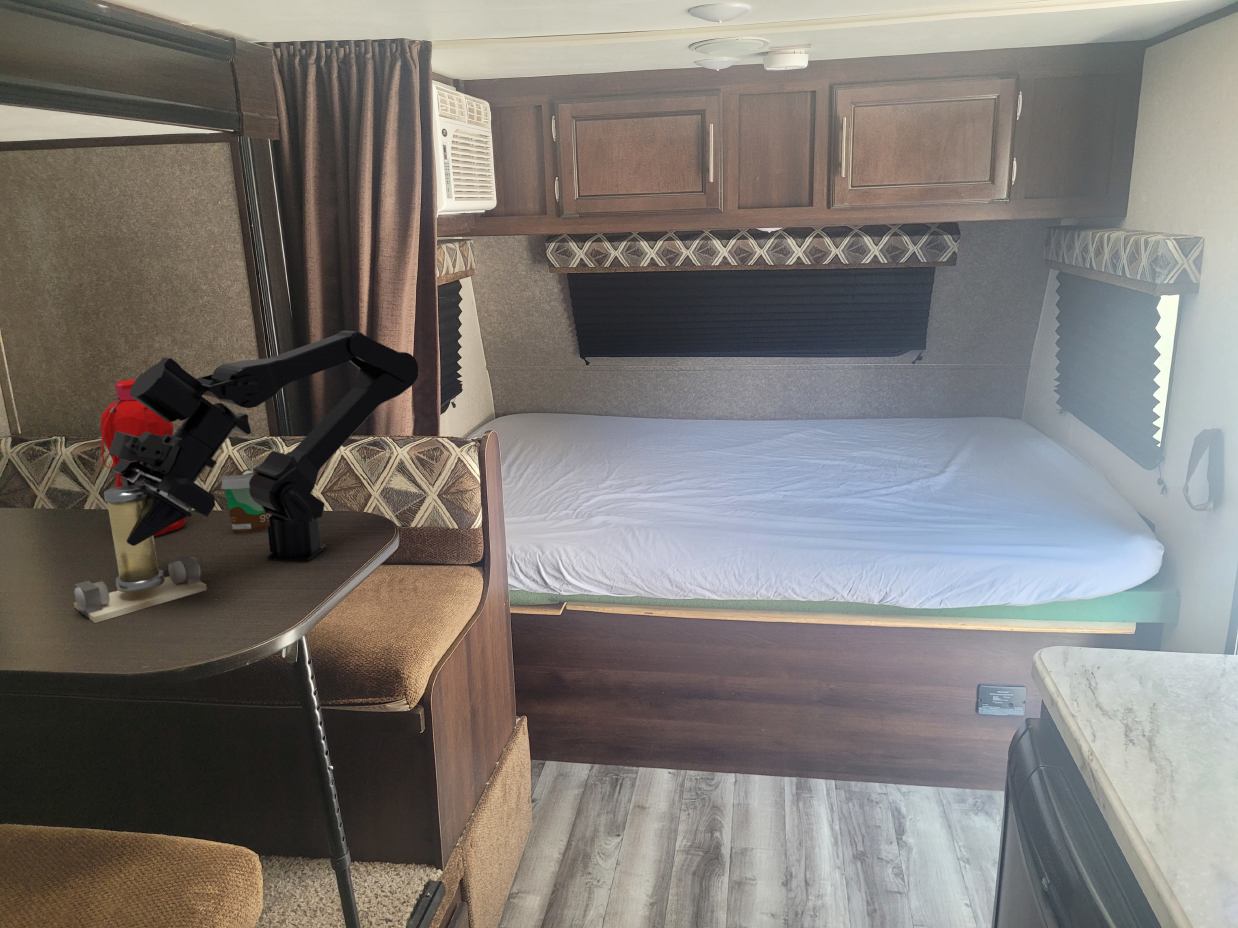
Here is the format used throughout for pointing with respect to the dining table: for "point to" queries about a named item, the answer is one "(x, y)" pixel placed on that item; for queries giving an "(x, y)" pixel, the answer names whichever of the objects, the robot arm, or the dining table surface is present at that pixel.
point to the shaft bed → (107, 605)
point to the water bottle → (132, 427)
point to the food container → (244, 504)
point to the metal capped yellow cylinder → (132, 561)
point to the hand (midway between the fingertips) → (122, 540)
